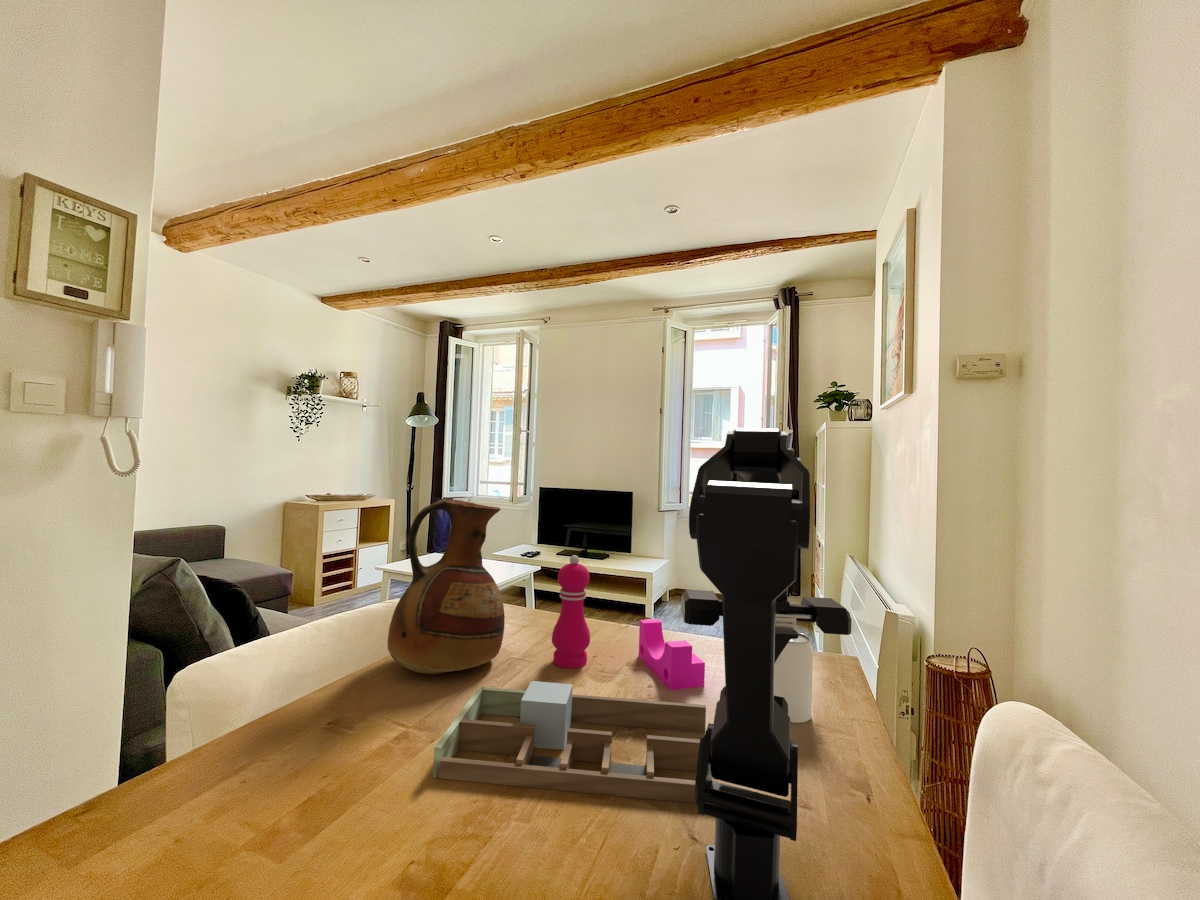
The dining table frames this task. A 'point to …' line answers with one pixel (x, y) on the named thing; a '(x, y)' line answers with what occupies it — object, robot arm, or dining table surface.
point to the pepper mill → (571, 617)
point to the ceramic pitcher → (449, 599)
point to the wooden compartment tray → (574, 747)
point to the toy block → (669, 658)
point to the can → (795, 678)
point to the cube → (548, 713)
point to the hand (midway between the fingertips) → (759, 683)
